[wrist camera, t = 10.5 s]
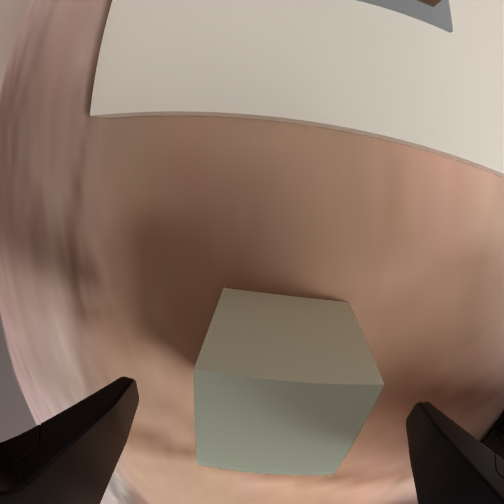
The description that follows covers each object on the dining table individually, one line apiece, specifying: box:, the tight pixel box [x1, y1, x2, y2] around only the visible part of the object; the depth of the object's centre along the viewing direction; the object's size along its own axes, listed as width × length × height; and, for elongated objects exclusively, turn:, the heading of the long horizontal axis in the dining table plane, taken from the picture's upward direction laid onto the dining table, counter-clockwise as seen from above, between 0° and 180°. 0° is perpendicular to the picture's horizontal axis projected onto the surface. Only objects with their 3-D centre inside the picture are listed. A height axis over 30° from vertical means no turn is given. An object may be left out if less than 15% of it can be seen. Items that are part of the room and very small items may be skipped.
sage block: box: [194, 288, 384, 475], centre depth 9 cm, size 4×4×4 cm
